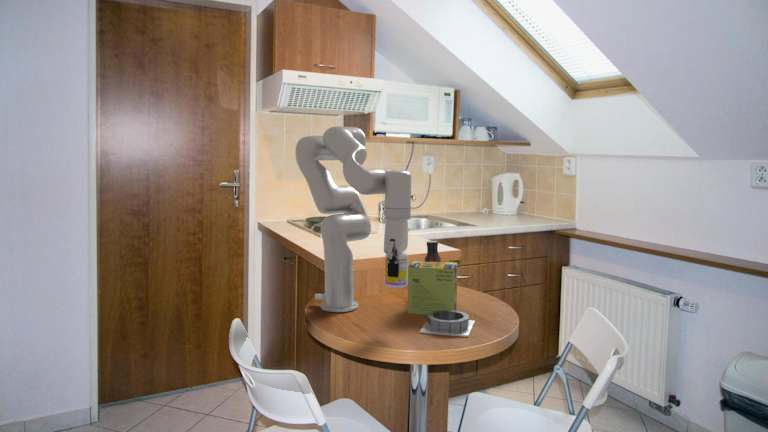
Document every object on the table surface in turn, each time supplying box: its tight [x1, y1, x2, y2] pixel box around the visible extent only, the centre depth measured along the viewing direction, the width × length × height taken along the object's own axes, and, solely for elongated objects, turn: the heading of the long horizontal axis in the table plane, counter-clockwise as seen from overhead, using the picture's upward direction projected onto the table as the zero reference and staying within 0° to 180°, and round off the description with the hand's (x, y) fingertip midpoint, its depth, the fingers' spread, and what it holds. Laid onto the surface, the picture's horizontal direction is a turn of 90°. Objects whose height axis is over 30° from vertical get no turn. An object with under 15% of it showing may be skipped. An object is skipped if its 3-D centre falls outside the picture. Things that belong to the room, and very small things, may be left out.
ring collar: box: [419, 309, 476, 338], centre depth 162 cm, size 14×14×4 cm
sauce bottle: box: [424, 240, 442, 262], centre depth 199 cm, size 7×6×20 cm
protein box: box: [407, 261, 458, 316], centre depth 179 cm, size 10×15×16 cm
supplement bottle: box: [384, 244, 409, 289], centre depth 160 cm, size 7×7×13 cm
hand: (396, 273), depth 161 cm, fingers closed on supplement bottle, 6 cm apart
